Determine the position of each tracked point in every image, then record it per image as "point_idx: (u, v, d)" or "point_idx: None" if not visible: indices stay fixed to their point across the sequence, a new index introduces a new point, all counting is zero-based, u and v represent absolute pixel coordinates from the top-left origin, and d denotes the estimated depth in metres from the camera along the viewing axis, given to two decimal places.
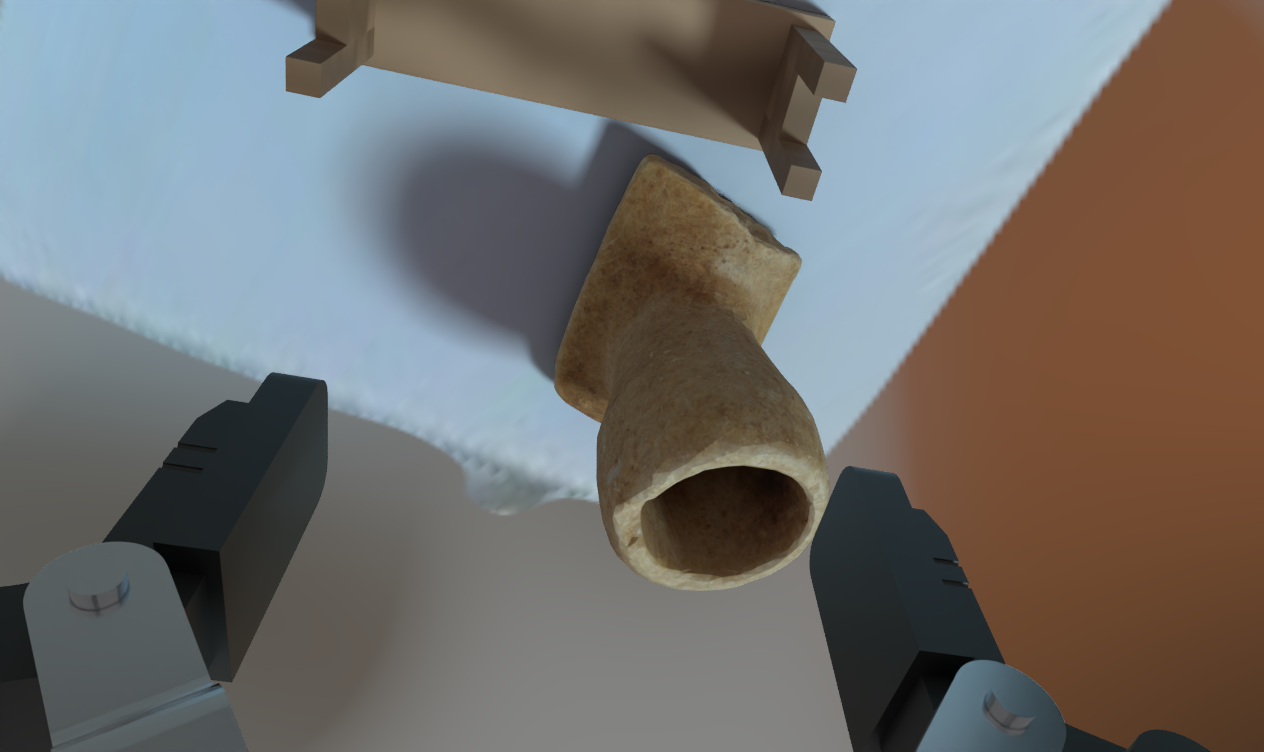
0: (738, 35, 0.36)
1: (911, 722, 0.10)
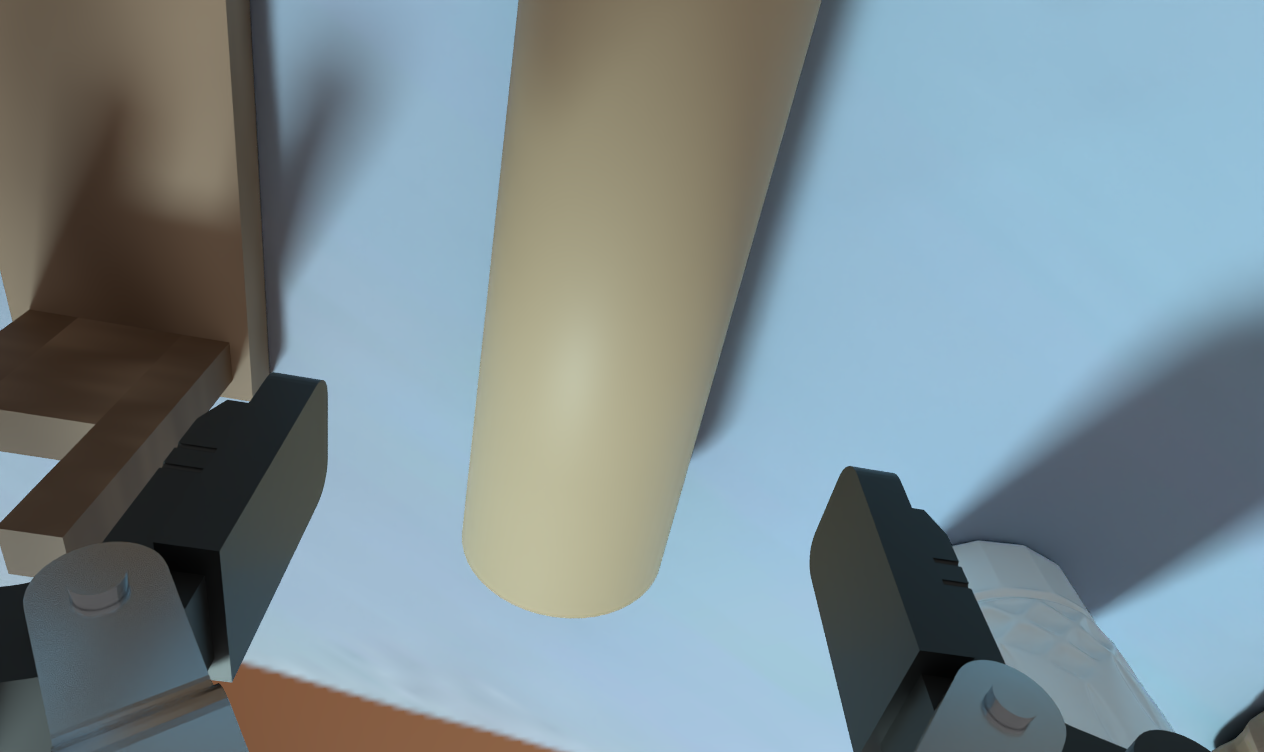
0: (186, 264, 0.20)
1: (911, 722, 0.10)
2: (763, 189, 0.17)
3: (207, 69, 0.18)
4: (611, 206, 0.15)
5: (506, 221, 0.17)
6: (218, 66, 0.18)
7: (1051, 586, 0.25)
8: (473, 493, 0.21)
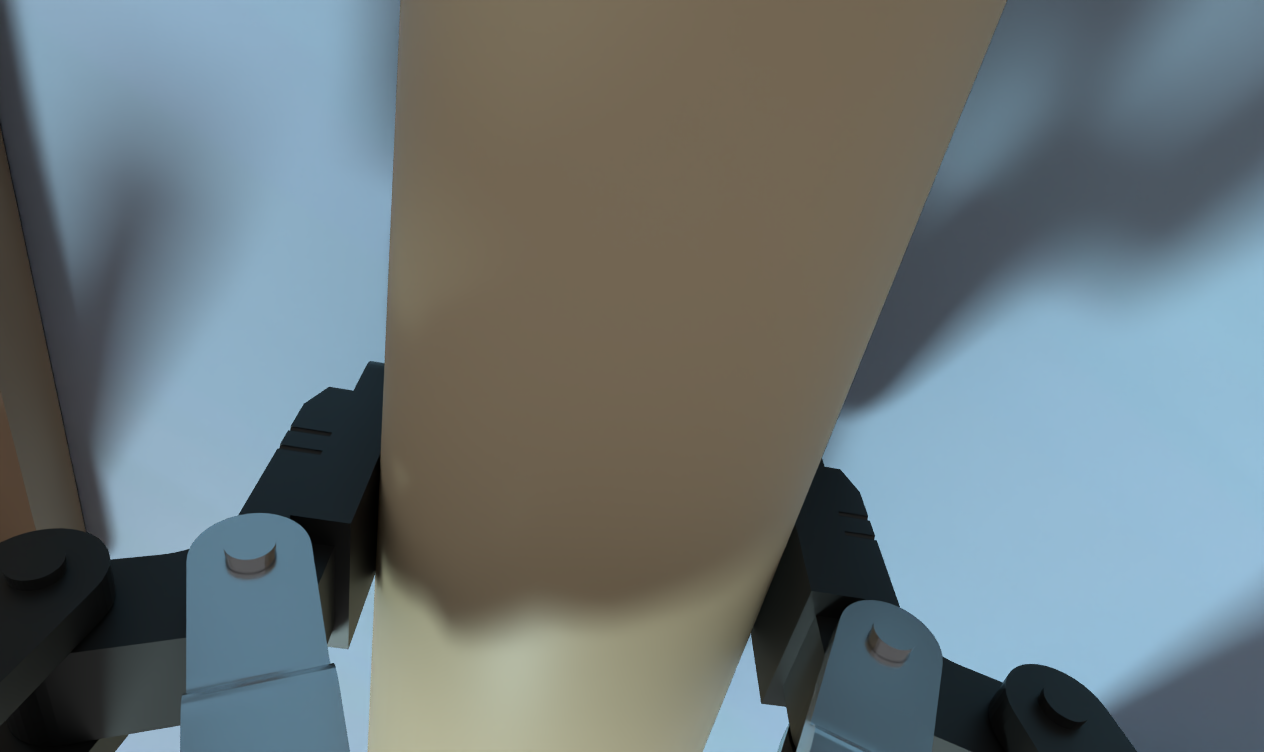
0: None
1: (806, 662, 0.10)
2: (839, 411, 0.09)
3: None
4: (567, 479, 0.08)
5: (389, 458, 0.10)
6: None
7: None
8: None
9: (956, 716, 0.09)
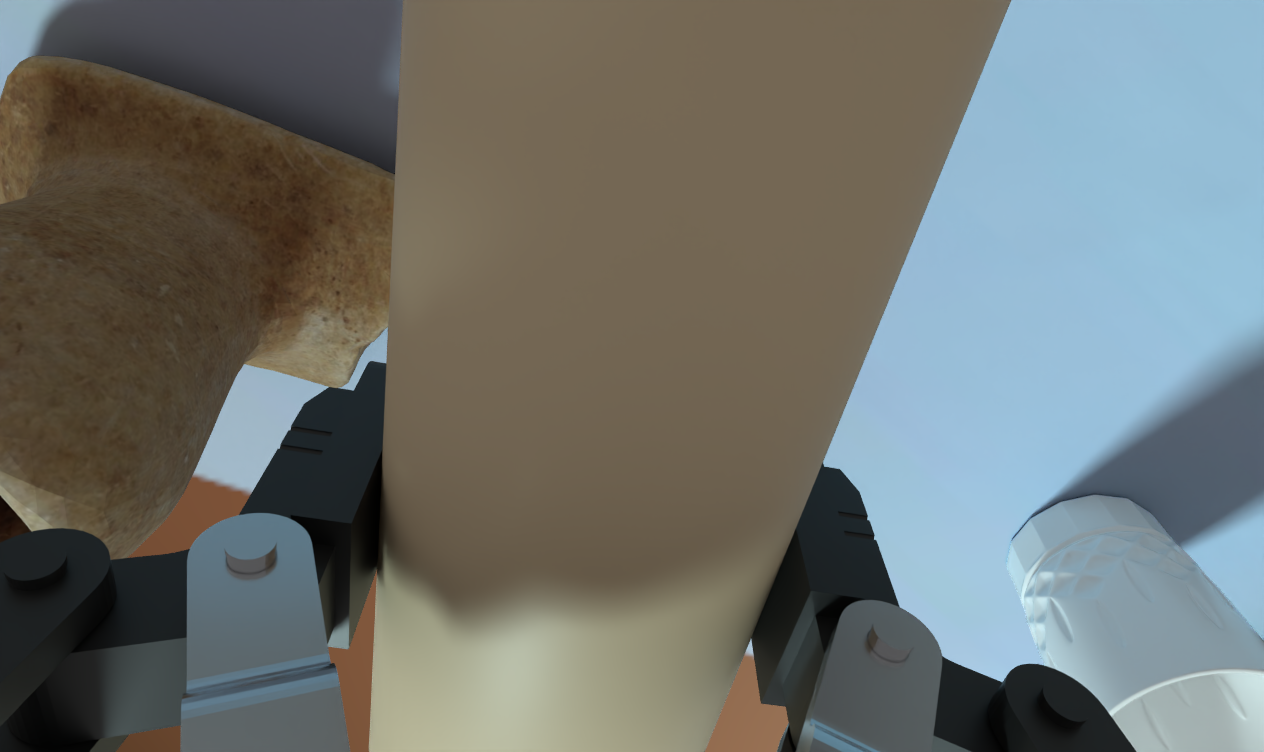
0: None
1: (806, 661, 0.10)
2: (841, 413, 0.09)
3: None
4: (569, 481, 0.08)
5: (391, 460, 0.10)
6: None
7: (1151, 524, 0.36)
8: None
9: (956, 716, 0.09)
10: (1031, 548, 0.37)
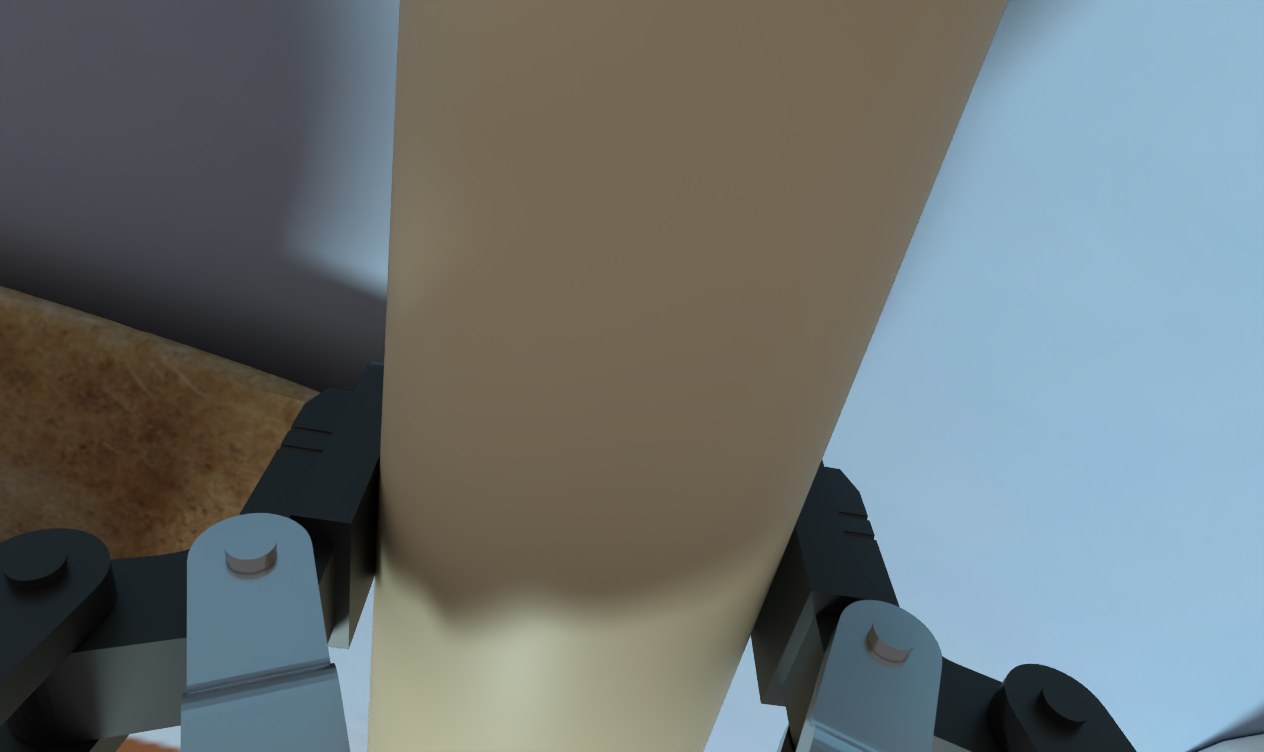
0: None
1: (806, 661, 0.10)
2: (840, 412, 0.09)
3: None
4: (567, 480, 0.08)
5: (389, 459, 0.10)
6: None
7: None
8: None
9: (956, 715, 0.09)
10: None
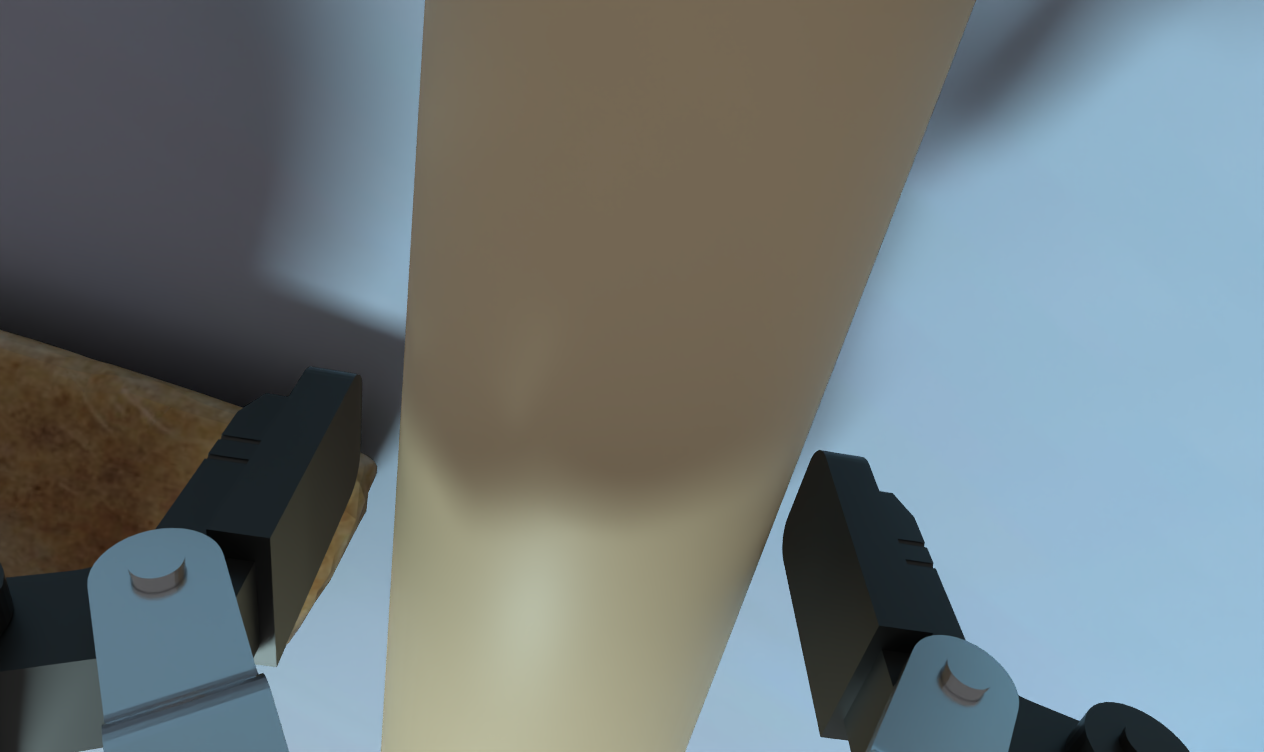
0: None
1: (871, 697, 0.10)
2: (830, 374, 0.10)
3: None
4: (577, 429, 0.09)
5: (410, 416, 0.10)
6: None
7: None
8: None
9: None
10: None
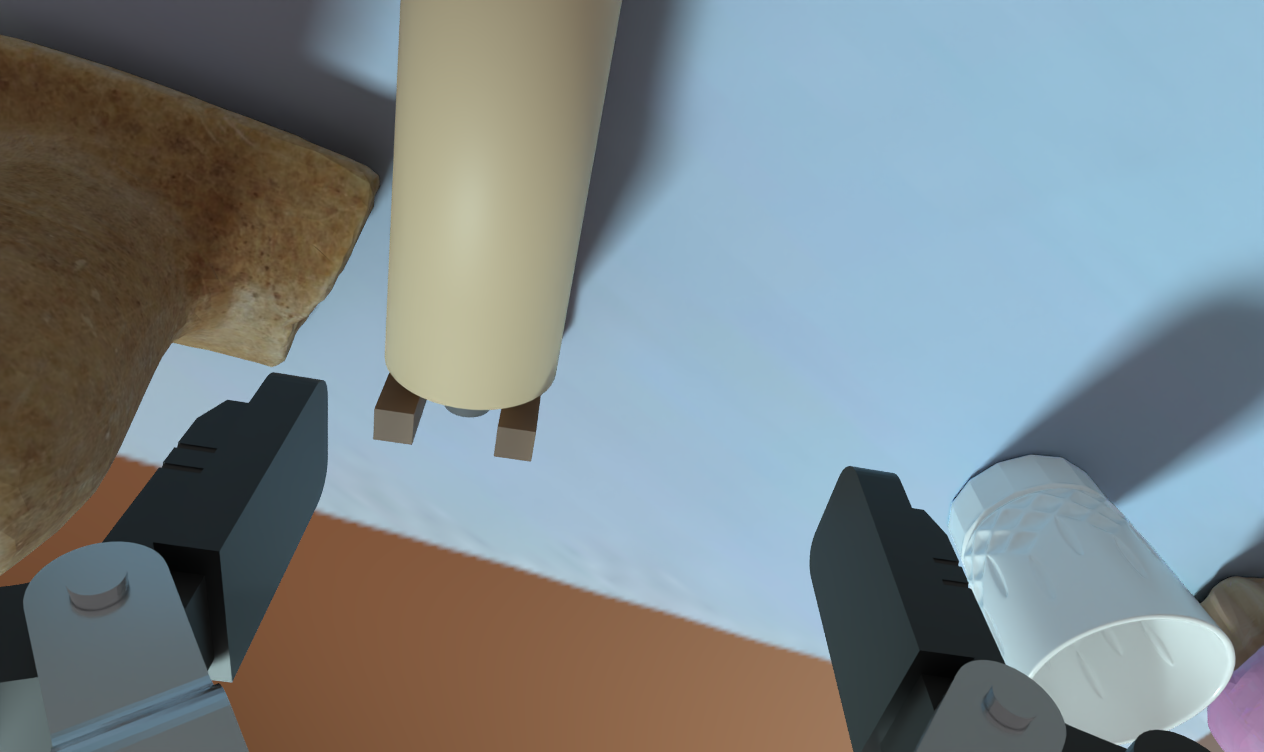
0: None
1: (911, 722, 0.10)
2: (606, 27, 0.21)
3: None
4: (478, 28, 0.19)
5: (403, 53, 0.21)
6: None
7: (1083, 482, 0.37)
8: (390, 304, 0.25)
9: None
10: (970, 508, 0.38)
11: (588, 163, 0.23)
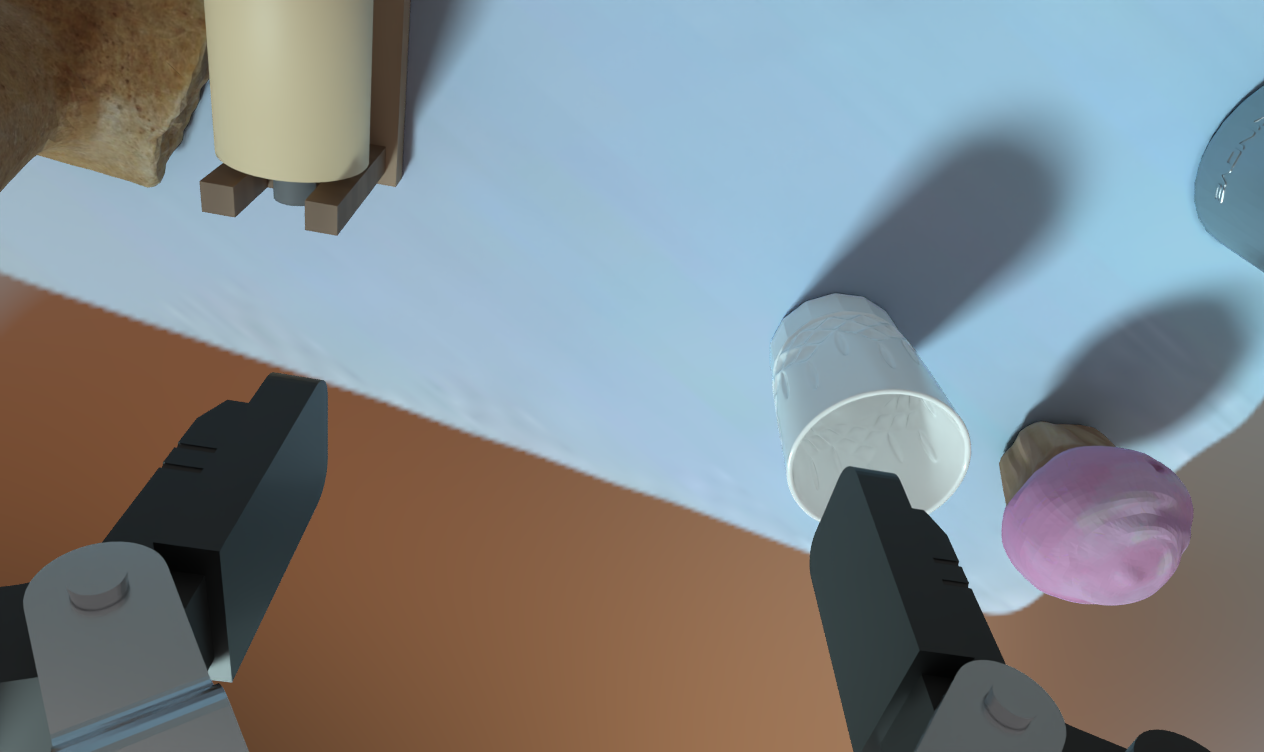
0: None
1: (911, 722, 0.10)
2: None
3: None
4: None
5: None
6: None
7: (874, 312, 0.41)
8: None
9: None
10: (779, 341, 0.43)
11: None
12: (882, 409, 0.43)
